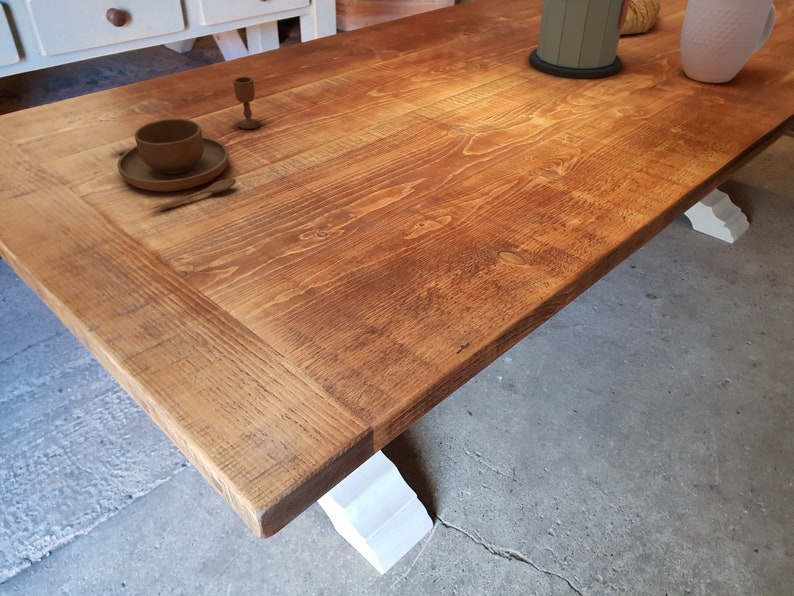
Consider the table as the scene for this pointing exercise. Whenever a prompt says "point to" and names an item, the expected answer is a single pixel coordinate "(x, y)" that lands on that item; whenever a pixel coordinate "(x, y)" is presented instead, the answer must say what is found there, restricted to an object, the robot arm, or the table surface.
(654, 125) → the table surface
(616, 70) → the turntable
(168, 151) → the place setting
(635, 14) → the croissant
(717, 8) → the mug
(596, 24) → the bin
